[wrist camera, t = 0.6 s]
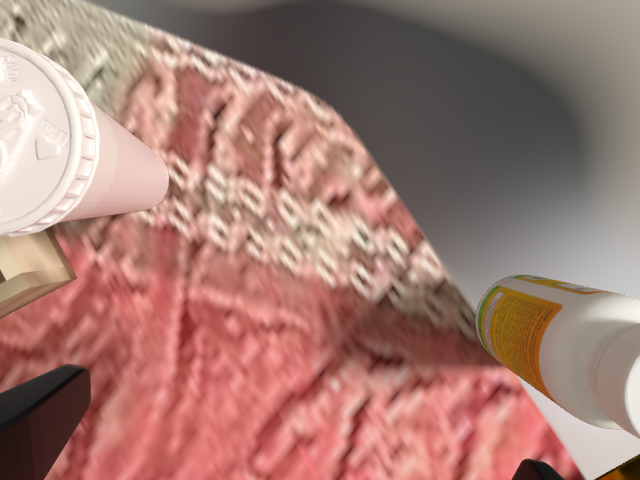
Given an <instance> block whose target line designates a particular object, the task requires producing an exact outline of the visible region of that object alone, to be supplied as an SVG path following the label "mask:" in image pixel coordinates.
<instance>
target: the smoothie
mask: <svg viewBox="0 0 640 480" xmlns="http://www.w3.org/2000/svg"><path fill="white" fill-rule="evenodd" d="M168 185H169V174H168V170H167V167H166V165H165V163H164V162H163V160H162V159H161V158H160V157H159V156H158V155H157V154H156V153H154V152H153V151H152V150H151V149H149V148H148V147H147V146H146V145H144V144H143V143H142V142H141V141H139V140H138V139H137V138H136V137H134V136H133V135H132V134H131V133H129V132H128V131H127V130H126V129H124V128H123V127H122V126H121V125H119V124H118V123H117V122H116V121H114V120H113V119H112V118H111V117H109V116H108V115H107V114H106V113H104V112H103V111H102V110H101V109H100V108H98V107H97V106H96V105H95V104H94V103H92V102H91V101H90V100H89V99H88V97H87V95H86V93H85V91H84V89H83V88H82V87H81V86H80V84H79V83H78V82H77V81H76V80H75V79H74V78H73V77H72V76H71V74H70V73H69V72H68V71H67V70H66V69H64V68H63V67H61V66H60V65H58V64H57V63H55V62H54V61H52V60H51V59H49V58H48V57H46V56H44V55H41V54H38V53H36V52H34V51H33V50H31V49H29V48H28V47H26V46H23V45H21V44H19V43H17V42H14V41H11V40H8V39H4V38H0V236H4V237H18V236H23V235H27V234H32V233H37V232H40V231H42V230H44V229H46V228H48V227H50V226H52V225H54V224H56V223H59V222H65V221H71V220H78V219H86V218H93V217H100V216H108V215H115V214H122V213H130V212H137V211H144V210H148V209H150V208H152V207H154V206H156V205H157V204H158V203H159V202H160V201H161V200H162V199H163V197H164V196H165V194H166V192H167V189H168Z"/></svg>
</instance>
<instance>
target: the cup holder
mask: <svg viewBox="0 0 640 480" xmlns="http://www.w3.org/2000/svg"><path fill="white" fill-rule="evenodd" d="M76 278H77V277H76V275H75V273H74V271H73V270H72V268H71V266H70V264H69V262H68V260H67V258H66V257H65V255H64V253H63V251H62V249H61V247H60V245H59V244H58V242H57V240H56V238H55V236H54V234H53V233H52V231H51V229H50V227H48V228H46V229H44V230H42V231H40V232H37V233H32V234H27V235H23V236H18V237H4V236H0V318H2V317H4V316H6V315H8V314H10V313H12V312H14V311H15V310H17V309H19V308H21V307H23V306H25V305H27V304H29V303H31V302H33V301H35V300H36V299H38V298H40V297H42V296H44V295H46V294H48V293H50V292H52V291H54V290H55V289H57V288H59V287H61V286H63V285H65V284H67V283H69V282H71V281H73V280H75V279H76Z"/></svg>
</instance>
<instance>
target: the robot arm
mask: <svg viewBox="0 0 640 480" xmlns="http://www.w3.org/2000/svg"><path fill="white" fill-rule="evenodd" d="M90 401H91V382H90V371H89V369H88V368H86V367H82V366H77V365H73V364H66V365H63V366H61V367H59V368H56V369H54V370H52V371H50V372H47V373H45V374H43V375H41V376H38V377H36V378H34V379H32V380H29V381H27V382H25V383H23V384H20V385H18V386H16V387H14V388H11V389H9V390H7V391H5V392H2V393H0V480H44V479H45V477H46V476H47V474H48V472H49V471H50V469H51V468H52V466H53V464H54V463H55V461H56V459H57V458H58V456H59V455H60V453H61V451H62V450H63V448H64V447H65V445H66V443H67V442H68V440H69V439H70V437H71V435H72V434H73V432H74V431H75V429H76V427H77V426H78V424H79V423H80V421H81V419H82V418H83V416H84V415H85V413H86V411H87V409H88V407H89V405H90ZM512 480H564V479H563V478H562V477H561V476H560V475H559V474H558V473H557V472H556V471H555V470H554V469H553V468H552V467H551V466H550V465H548V464H547V463H545V462H542V461H537V460H532V459H525V460H523V461H522V462H521V463H520V465H519V467H518V469H517V471H516V472H515V474H514V476H513V478H512Z"/></svg>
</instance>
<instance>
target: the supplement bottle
mask: <svg viewBox="0 0 640 480" xmlns="http://www.w3.org/2000/svg"><path fill="white" fill-rule="evenodd" d="M475 325H476V331H477V334H478V337H479V340H480V342H481V344H482V345H483V347H484V348H485V350H486V351H487V352H488V353H489V354H490V355H491V356H492V357H493V358H495V359H496V360H497V361H498V362H500V363H501V364H502V365H504V366H505V367H507V368H508V369H509V370H511V371H512V372H513V373H515V374H516V375H518V376H519V377H520V378H522V379H523V380H524V381H526V382H527V383H529V384H530V385H531V386H533V387H534V388H535V389H537V390H538V391H540V392H541V393H542V394H544V395H545V396H546V397H548V398H549V399H550V400H552V401H553V402H555V403H556V404H557V405H559V406H560V407H561V408H563V409H564V410H565V411H567V412H568V413H570V414H572V415H573V416H575V417H576V418H578V419H580V420H582V421H584V422H586V423H588V424H591V425H594V426H597V427H601V428H606V429H615V430H617V429H618V430H622V429H624V430H626V431H627V432H629V433H631V434H632V435H634V436H636V437H637V438H639V439H640V300H639V299H636V298H633V297H629V296H625V295H622V294H618V293H613V292H608V291H603V290H599V289H594V288H589V287H584V286H581V285H575V284H571V283H566V282H561V281H556V280H552V279H547V278H543V277H537V276H531V275H515V276H510V277H507V278H504V279H502V280H500V281H498V282H497V283H495V284H494V285H492V286H491V287H490V288H489V289H488V290H487V291H486V293H485V294H484V295H483V297H482V299H481V300H480V302H479V305H478V307H477V311H476V317H475Z"/></svg>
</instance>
